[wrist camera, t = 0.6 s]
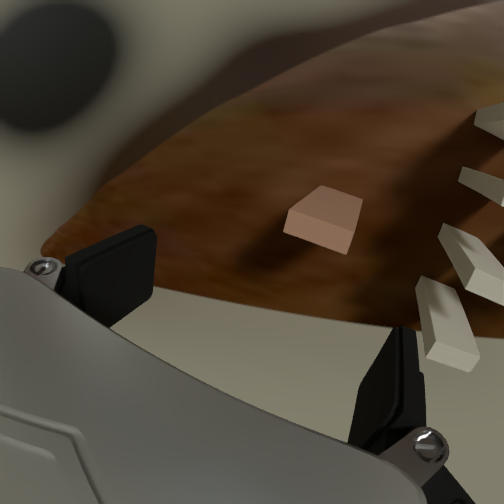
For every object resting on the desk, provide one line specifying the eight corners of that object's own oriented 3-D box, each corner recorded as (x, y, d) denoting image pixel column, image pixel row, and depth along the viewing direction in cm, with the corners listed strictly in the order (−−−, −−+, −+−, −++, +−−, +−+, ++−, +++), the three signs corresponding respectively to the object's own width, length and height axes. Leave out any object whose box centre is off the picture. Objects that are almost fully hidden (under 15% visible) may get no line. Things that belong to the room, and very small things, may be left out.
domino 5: (455, 289, 28) (480, 357, 18) (448, 301, 29) (469, 372, 19) (421, 275, 29) (435, 341, 19) (415, 288, 30) (425, 357, 20)
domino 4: (478, 238, 26) (521, 289, 15) (472, 252, 26) (510, 308, 16) (443, 222, 27) (475, 267, 16) (437, 237, 28) (465, 289, 17)
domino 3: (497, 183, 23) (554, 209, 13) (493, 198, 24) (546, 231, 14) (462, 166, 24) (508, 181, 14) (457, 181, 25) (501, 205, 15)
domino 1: (362, 199, 30) (354, 232, 19) (358, 214, 30) (346, 254, 20) (321, 185, 31) (289, 209, 20) (316, 200, 31) (282, 231, 21)
